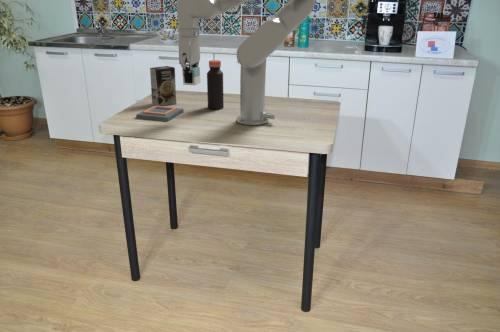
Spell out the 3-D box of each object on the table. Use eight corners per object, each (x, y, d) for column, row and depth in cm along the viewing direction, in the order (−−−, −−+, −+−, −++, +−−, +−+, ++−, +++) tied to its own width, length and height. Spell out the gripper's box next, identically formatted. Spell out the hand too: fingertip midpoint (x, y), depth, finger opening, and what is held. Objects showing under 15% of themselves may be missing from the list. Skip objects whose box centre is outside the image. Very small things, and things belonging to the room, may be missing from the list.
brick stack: (200, 82, 184) (199, 67, 182) (195, 85, 179) (194, 69, 177) (188, 82, 185) (187, 66, 183) (183, 84, 181) (182, 69, 179)
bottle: (221, 110, 199) (220, 62, 192) (206, 109, 200) (204, 62, 193) (225, 106, 205) (224, 60, 198) (210, 105, 206) (208, 59, 199)
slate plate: (183, 112, 196) (183, 106, 195) (168, 121, 183) (167, 115, 182) (153, 109, 200) (153, 104, 199) (136, 118, 187) (136, 112, 186)
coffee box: (159, 107, 204) (156, 69, 197) (151, 104, 208) (149, 67, 202) (177, 103, 209) (175, 67, 203) (169, 101, 214) (167, 65, 207)
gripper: (189, 30, 184) (192, 77, 191) (169, 35, 169) (173, 85, 176) (207, 30, 182) (209, 77, 188) (188, 35, 167) (191, 86, 173)
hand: (191, 81), depth 182 cm, fingers closed on brick stack, 5 cm apart
